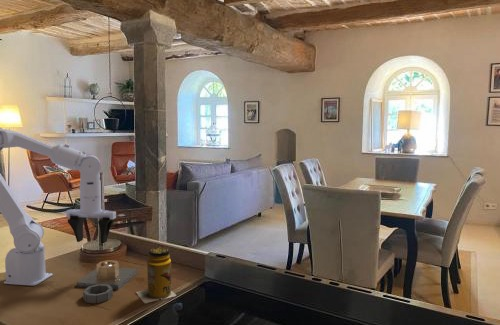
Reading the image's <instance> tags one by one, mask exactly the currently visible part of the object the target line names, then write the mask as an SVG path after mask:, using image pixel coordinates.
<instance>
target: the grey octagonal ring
mask: <svg viewBox="0 0 500 325" xmlns="http://www.w3.org/2000/svg"><path fill="white" fill-rule="evenodd" d="M113 291H114V289H113V288H112V287H111V286H110V285H106V284H98V285H93V286H89V287H85V289H83V291H82V293H83V294H82V295H83V297H82V298H83V300H84V302H85V303H88V304H99V303H103V302H107V301H109V300H110V299H111V298H112V297H113V296H114V294H113V293H114V292H113ZM100 292H102V293H100Z"/></svg>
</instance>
